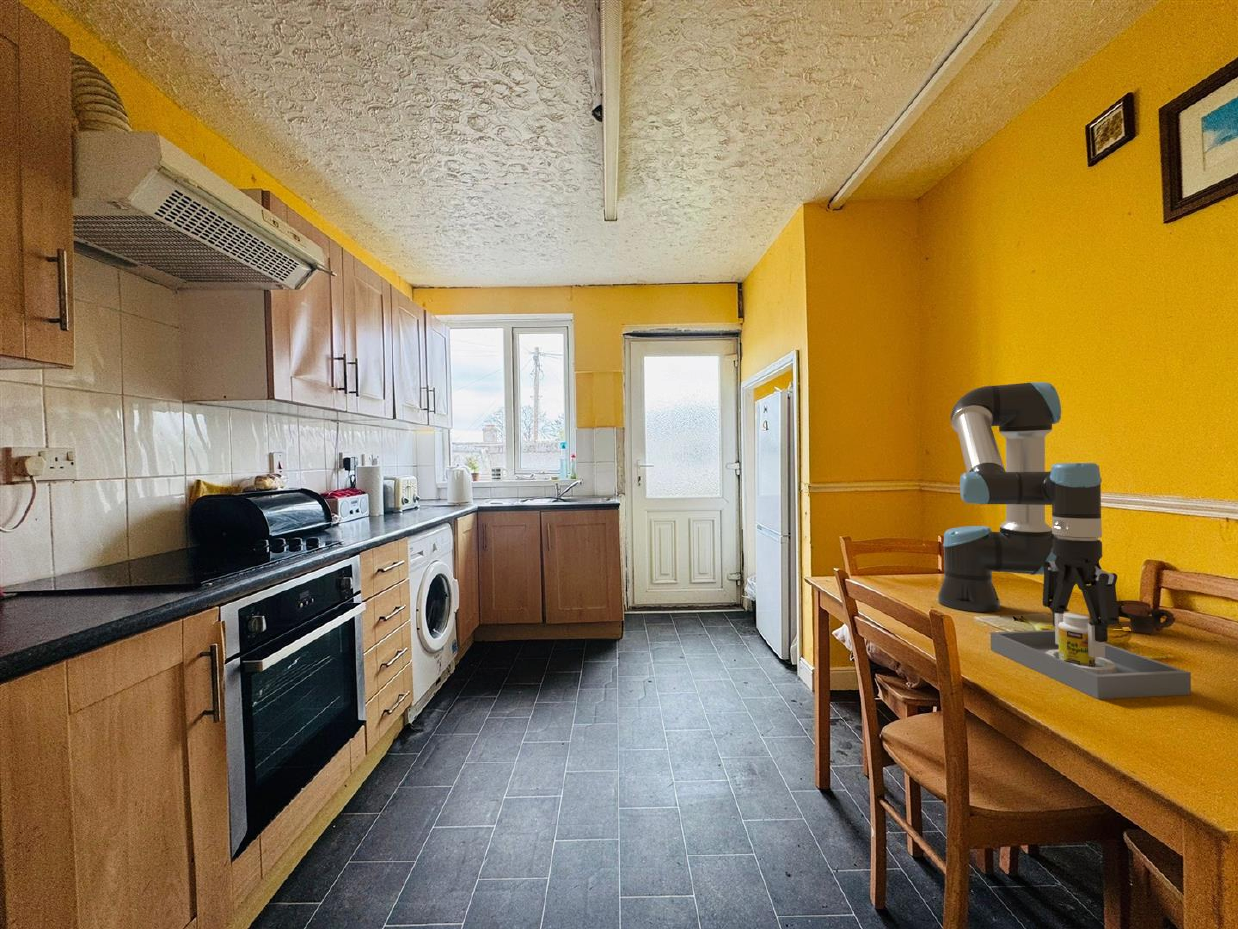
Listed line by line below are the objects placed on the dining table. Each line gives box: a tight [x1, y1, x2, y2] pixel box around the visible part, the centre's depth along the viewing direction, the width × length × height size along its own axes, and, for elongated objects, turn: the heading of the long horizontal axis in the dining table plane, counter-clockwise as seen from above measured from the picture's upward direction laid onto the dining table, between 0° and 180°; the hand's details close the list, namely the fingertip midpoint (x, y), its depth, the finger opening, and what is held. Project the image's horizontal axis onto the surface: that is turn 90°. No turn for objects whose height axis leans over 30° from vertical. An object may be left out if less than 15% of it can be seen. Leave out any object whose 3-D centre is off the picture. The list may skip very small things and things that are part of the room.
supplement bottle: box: [1058, 612, 1096, 667], centre depth 102 cm, size 6×6×10 cm
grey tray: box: [989, 629, 1192, 700], centre depth 102 cm, size 24×18×4 cm
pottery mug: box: [1117, 599, 1176, 636], centre depth 125 cm, size 12×10×8 cm
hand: (1079, 650), depth 102 cm, fingers open, 6 cm apart
